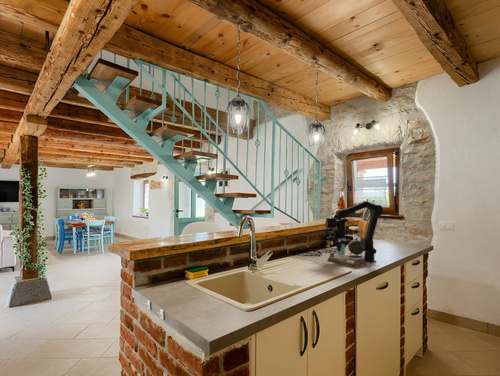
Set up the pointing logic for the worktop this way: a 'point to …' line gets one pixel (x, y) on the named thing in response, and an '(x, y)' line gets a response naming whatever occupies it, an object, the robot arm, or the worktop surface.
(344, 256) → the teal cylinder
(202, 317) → the worktop surface
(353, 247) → the alarm clock
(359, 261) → the rail board
